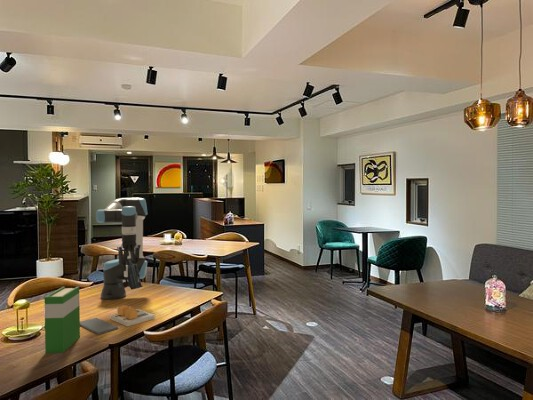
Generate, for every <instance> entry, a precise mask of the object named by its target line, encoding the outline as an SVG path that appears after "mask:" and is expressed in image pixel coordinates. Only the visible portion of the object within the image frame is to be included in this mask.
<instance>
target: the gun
mask: <svg viewBox="0 0 533 400" xmlns="http://www.w3.org/2000/svg"><path fill="white" fill-rule="evenodd" d="M128 262H129V263H128V265H129V266H128V277H125V280H124V281H123V282H122V283H118V288H121V287H123V288H125V289H126V288H130V290H136V289H140V288H143V285H142V282H141V279H140V275H139V272H138V268H137V264H133V265H132V262H131V260H130V259H128ZM127 279H128V280H127Z"/></svg>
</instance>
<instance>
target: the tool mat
mask: <svg viewBox="0 0 533 400" xmlns="http://www.w3.org/2000/svg"><path fill="white" fill-rule="evenodd" d="M80 327H81V328H84V329H86V330H88V331H90V332H92V333H94V334H96V335H102V334H105V333H108V332H109V333H110V332H113V331H115V330H118V329H119V328H118V326H117V325H114V324H112V323H109V322H108V321H105V320H103V319H101V318H98V317H94V318H93V317H92V318H89V319H85V320H80Z"/></svg>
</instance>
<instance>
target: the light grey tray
mask: <svg viewBox="0 0 533 400" xmlns="http://www.w3.org/2000/svg"><path fill="white" fill-rule="evenodd" d="M135 309H136V310H137V318H133V319H128V318H126V317H125V315H124V316H121V315H119V314H117V313H115V314H110V315H109V318H110V320H112V321H113V322H117V323H118V324H121V325H123V326H125V327H130V326H134V325H137V324H138V325H139V324H140V323H141V324H142V323H144V322H147V321H151V320H155V318H156V317H155V313H154V314H153V313H150V312H148V311H144V310H143V309H140V308H135Z"/></svg>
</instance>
